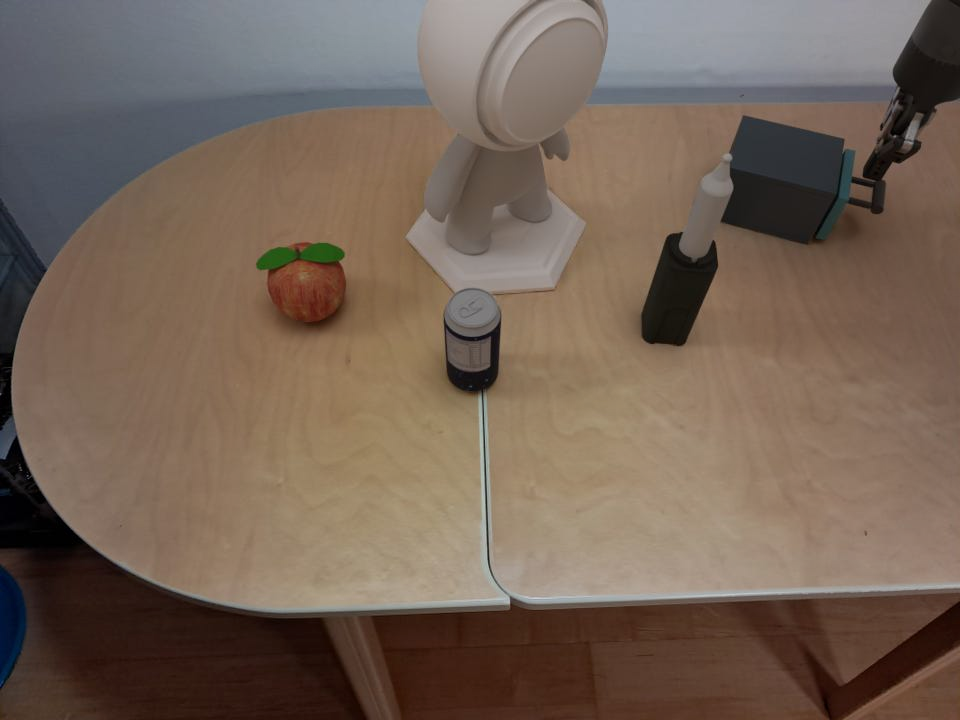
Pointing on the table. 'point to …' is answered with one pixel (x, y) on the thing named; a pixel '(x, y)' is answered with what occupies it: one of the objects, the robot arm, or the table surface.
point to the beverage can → (472, 339)
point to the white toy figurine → (504, 136)
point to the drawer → (843, 197)
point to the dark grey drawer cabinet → (782, 178)
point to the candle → (687, 264)
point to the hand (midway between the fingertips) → (870, 175)
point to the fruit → (305, 279)
